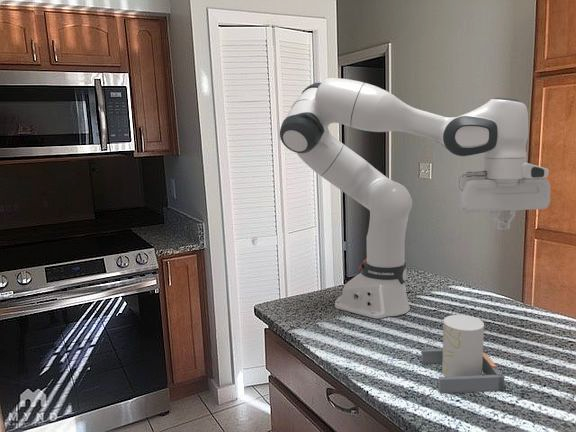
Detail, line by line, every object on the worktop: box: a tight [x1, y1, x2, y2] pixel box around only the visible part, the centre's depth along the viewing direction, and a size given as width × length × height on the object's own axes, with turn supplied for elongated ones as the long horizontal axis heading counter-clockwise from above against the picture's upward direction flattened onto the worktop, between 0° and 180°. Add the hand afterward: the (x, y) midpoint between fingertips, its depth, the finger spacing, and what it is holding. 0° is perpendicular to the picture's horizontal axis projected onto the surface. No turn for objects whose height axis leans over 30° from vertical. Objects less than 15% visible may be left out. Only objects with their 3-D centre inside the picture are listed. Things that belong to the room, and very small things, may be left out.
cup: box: [441, 314, 485, 377], centre depth 99 cm, size 8×8×12 cm
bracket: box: [420, 348, 506, 394], centre depth 99 cm, size 13×13×4 cm
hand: (501, 229), depth 107 cm, fingers closed
